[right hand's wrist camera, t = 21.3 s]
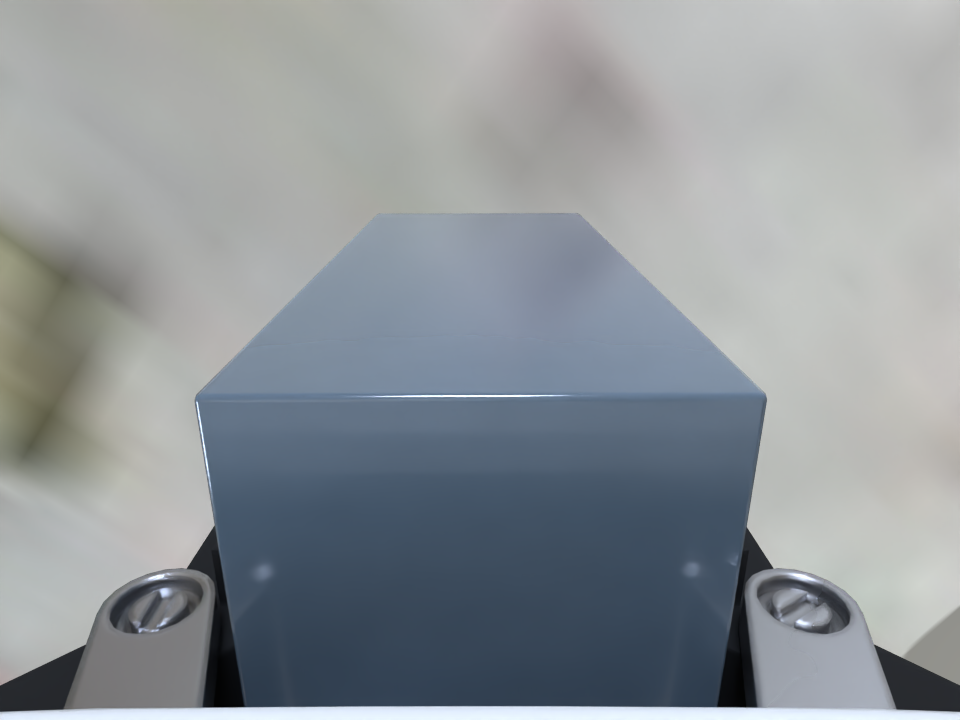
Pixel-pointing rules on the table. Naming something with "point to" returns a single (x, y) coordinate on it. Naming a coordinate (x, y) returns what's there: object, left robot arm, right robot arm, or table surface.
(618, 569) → the block
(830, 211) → the table surface
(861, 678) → the right robot arm
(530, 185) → the table surface
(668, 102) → the table surface
